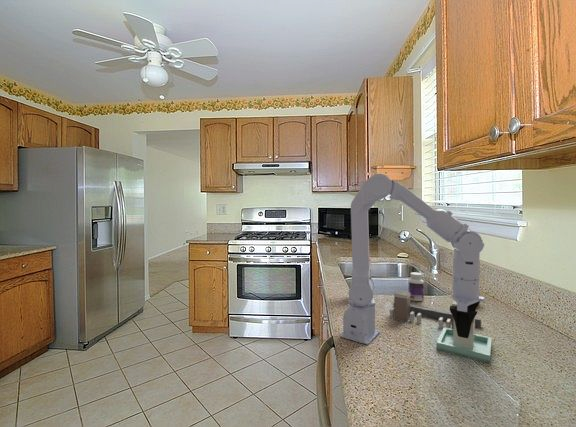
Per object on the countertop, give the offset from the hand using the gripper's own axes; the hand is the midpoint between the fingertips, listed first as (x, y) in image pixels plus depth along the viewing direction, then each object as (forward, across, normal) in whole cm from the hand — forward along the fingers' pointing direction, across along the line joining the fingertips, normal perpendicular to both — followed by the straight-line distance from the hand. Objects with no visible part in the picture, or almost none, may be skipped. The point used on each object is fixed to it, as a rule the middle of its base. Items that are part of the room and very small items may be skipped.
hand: (464, 331), depth 75 cm
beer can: (+4, +22, +36) cm, 42 cm away
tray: (+4, 0, 0) cm, 4 cm away
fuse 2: (+4, +10, +2) cm, 11 cm away
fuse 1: (+4, +10, +18) cm, 21 cm away
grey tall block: (+3, 0, 0) cm, 3 cm away
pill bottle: (+4, +32, +19) cm, 37 cm away
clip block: (+4, +13, +10) cm, 17 cm away
